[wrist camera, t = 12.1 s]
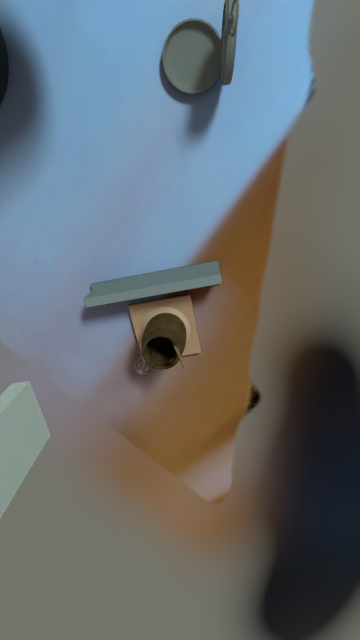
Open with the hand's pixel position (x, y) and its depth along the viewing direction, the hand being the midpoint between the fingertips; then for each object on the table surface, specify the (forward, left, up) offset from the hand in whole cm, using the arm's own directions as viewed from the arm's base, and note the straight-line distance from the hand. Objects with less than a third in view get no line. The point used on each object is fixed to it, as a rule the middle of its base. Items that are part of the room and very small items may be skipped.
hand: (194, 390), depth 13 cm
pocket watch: (-20, +4, -33) cm, 39 cm away
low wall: (+3, -7, -33) cm, 34 cm away
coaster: (+10, -7, -33) cm, 35 cm away
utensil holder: (+10, -6, -32) cm, 34 cm away
